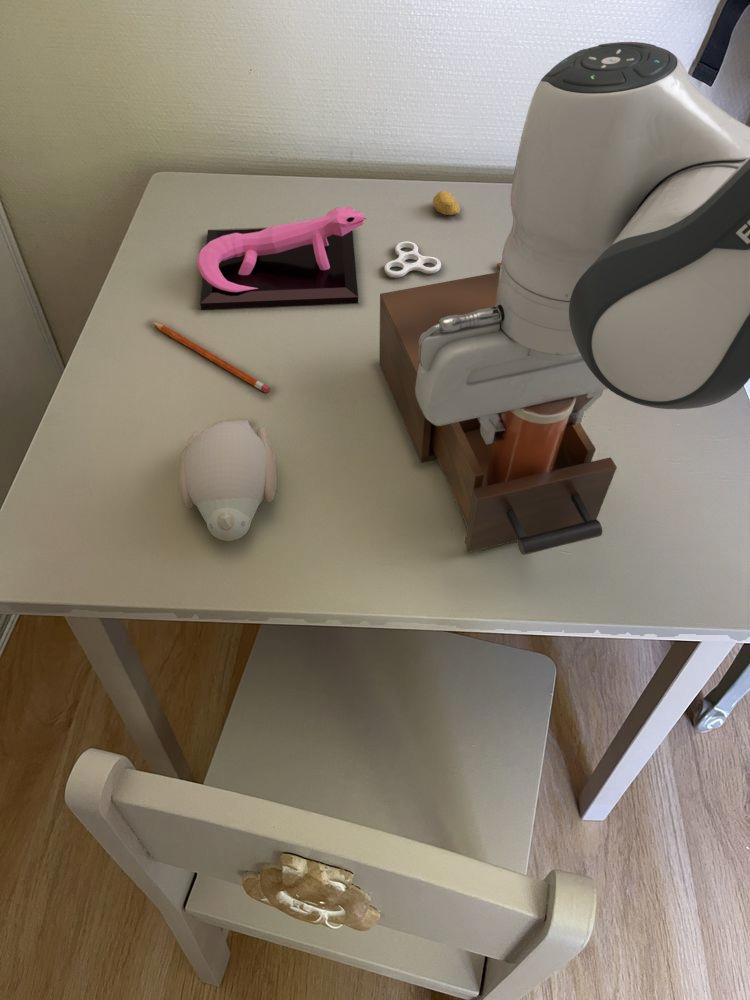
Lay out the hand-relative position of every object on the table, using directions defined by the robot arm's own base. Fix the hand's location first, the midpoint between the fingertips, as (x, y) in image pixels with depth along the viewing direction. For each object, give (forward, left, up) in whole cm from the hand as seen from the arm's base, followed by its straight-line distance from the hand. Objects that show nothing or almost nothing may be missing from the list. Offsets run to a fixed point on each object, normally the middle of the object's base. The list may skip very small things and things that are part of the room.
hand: (530, 428), depth 66 cm
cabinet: (0, -14, -10) cm, 17 cm away
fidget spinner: (-2, -38, -10) cm, 39 cm away
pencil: (+25, -28, -10) cm, 39 cm away
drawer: (0, 0, -9) cm, 9 cm away
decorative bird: (+25, -9, -10) cm, 29 cm away
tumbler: (0, 0, -7) cm, 7 cm away
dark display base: (+13, -41, -10) cm, 44 cm away
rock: (-10, -47, -10) cm, 49 cm away
